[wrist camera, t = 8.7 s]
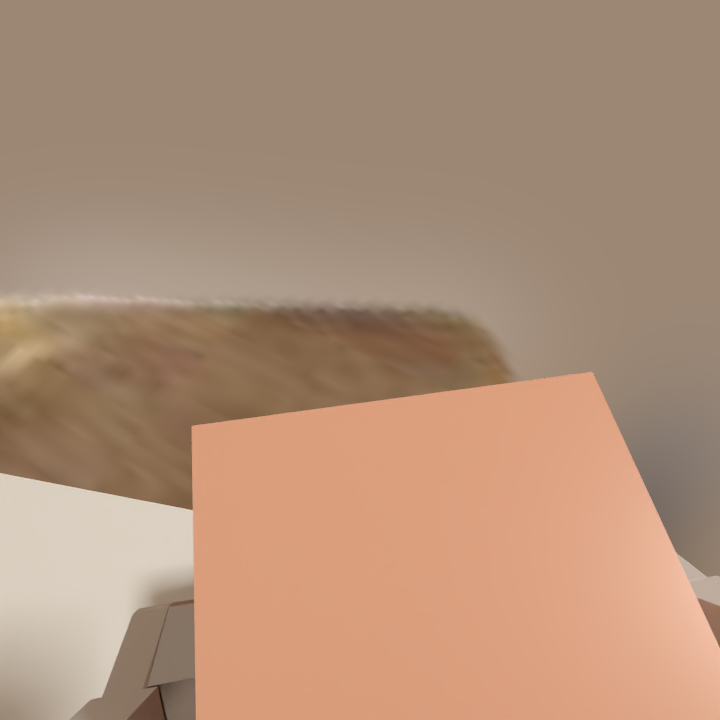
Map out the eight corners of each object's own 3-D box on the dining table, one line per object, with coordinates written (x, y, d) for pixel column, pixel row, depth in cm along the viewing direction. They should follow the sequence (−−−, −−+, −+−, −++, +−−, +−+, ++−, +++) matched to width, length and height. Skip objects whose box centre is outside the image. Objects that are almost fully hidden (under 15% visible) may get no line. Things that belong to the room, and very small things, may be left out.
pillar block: (284, 824, 10) (201, 1099, 4) (263, 561, 13) (191, 425, 6) (523, 767, 11) (838, 904, 4) (459, 527, 14) (591, 371, 7)
